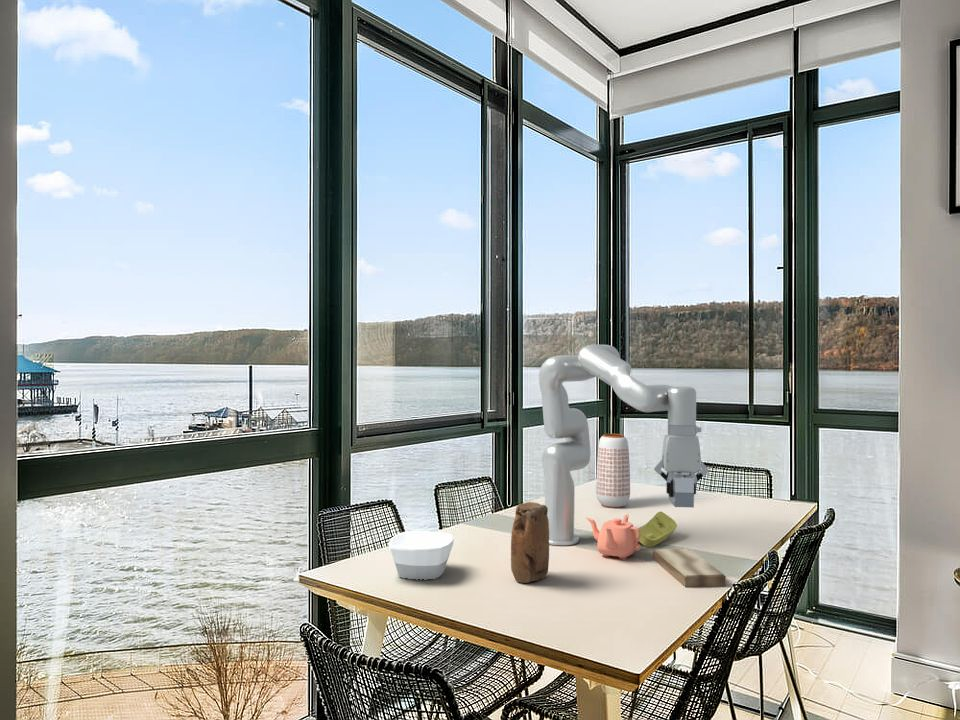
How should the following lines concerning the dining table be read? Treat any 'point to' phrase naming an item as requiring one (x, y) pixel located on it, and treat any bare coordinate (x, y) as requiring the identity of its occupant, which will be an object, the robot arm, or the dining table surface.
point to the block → (530, 542)
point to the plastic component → (656, 530)
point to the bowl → (421, 554)
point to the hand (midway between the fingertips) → (681, 495)
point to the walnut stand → (688, 568)
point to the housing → (682, 490)
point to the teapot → (616, 538)
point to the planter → (613, 471)
